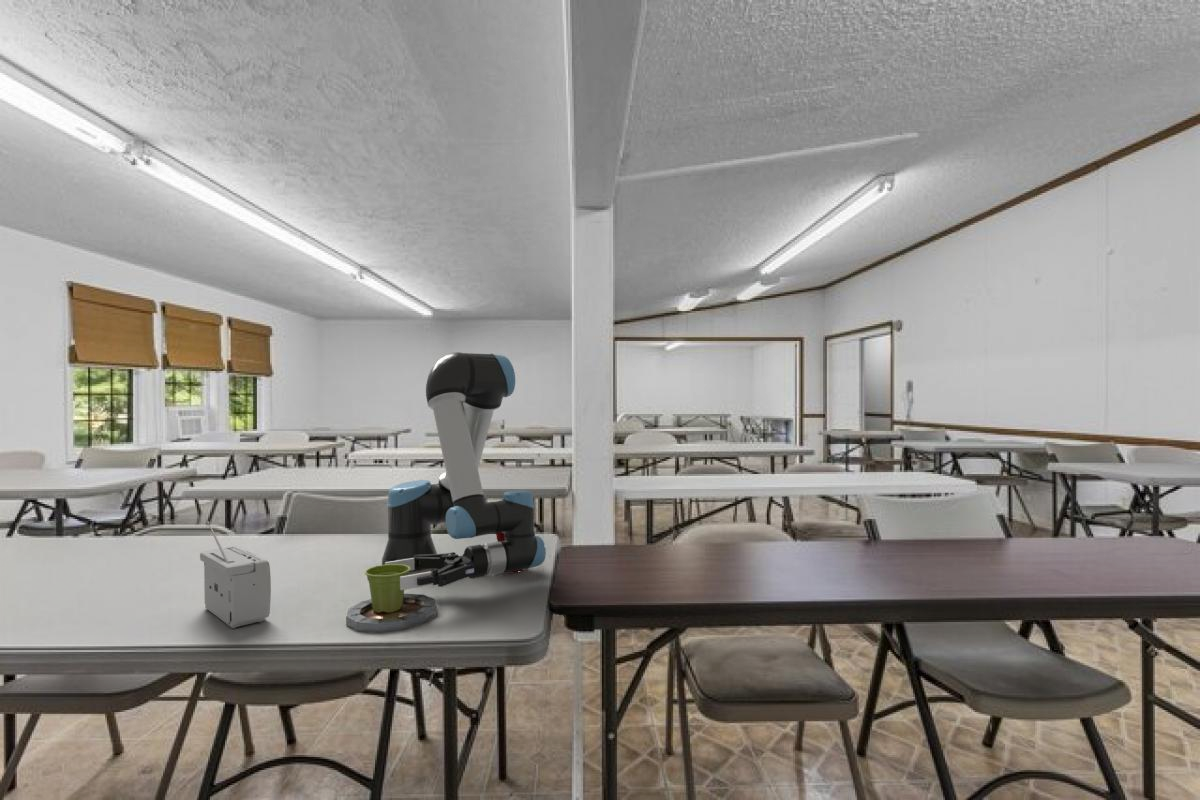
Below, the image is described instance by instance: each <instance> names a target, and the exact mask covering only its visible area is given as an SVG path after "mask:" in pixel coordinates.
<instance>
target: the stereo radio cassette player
mask: <svg viewBox="0 0 1200 800" xmlns="http://www.w3.org/2000/svg"><path fill="white" fill-rule="evenodd" d="M206 523H207V524H208V526H209V529H210V530H211V533H212V536H213V538H214V540H215V542H216V544H217V546H218V548H216V549H210V550H205V551H202V552H200V553H199V558H200V559H199V560H200V561H202V562H203V565H204V566H203V567H204V568H203V569H204V573H203V574H204V575H203V579H204V585H203V586H204V605H205V609H207V610H208V611H210V613H211V614H213V615H215V616H216V617H217V618H218V619H220V620H221V621H222V622H223V623H225V624H226V625H227V626H229V627H230V628H231V629H236V628H238V627H241V626H247V625H250V624H255V623H262V622H264V621H265V619H266V618H268V617H270V613H271V598H272V597H271V596H272V595H271V593H272V586H271V584H272V580H271V565H270V561H268V560H267V559H265V558H263V557H261V556H259V555H256V554H254V553H252V552H250V551H247V550H245V549H243V548H241V547H238V546H235V545H233V546H228V547H222V545H221V543H220V541H219V538H218V537H217V535H216V534H215V532H214V530H213V528H212V526H211V524H210V521H206Z"/></svg>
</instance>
